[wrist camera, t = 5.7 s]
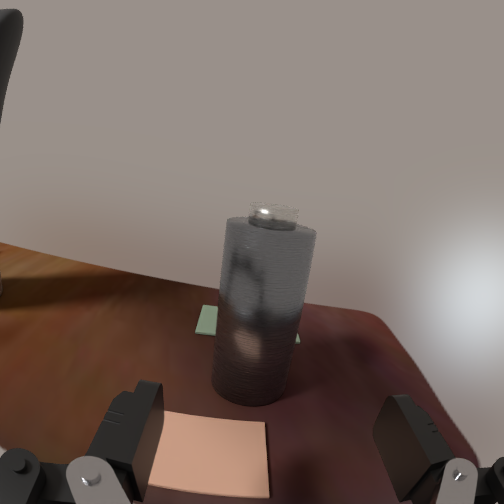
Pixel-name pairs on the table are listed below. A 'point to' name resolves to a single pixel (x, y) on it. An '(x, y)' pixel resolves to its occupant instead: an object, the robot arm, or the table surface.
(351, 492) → the table surface
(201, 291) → the table surface
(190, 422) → the mat
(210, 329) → the mat
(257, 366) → the bottle
